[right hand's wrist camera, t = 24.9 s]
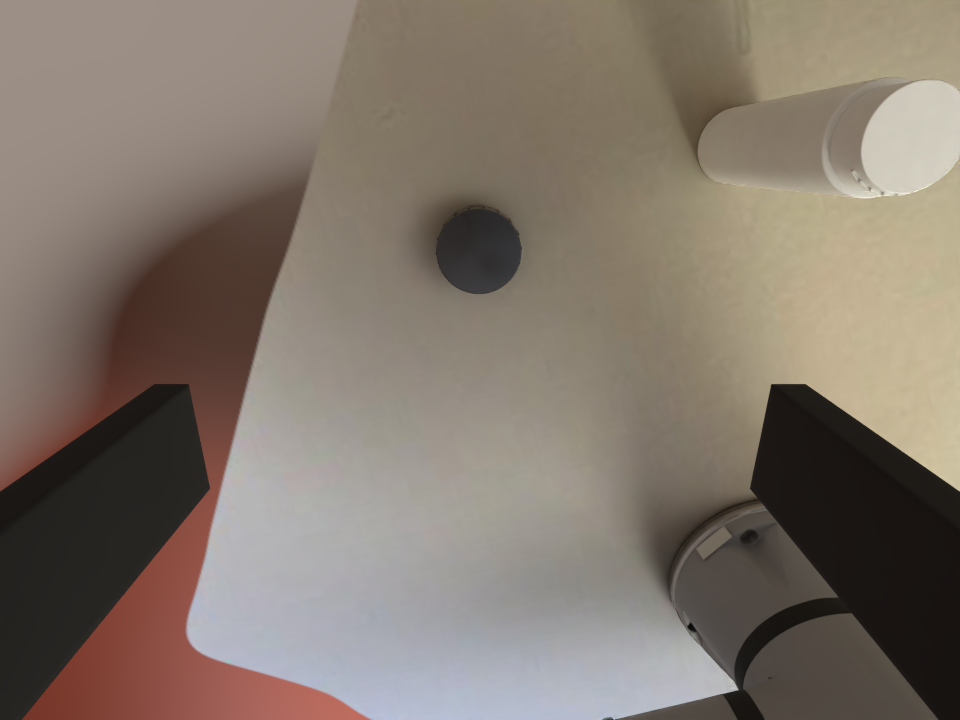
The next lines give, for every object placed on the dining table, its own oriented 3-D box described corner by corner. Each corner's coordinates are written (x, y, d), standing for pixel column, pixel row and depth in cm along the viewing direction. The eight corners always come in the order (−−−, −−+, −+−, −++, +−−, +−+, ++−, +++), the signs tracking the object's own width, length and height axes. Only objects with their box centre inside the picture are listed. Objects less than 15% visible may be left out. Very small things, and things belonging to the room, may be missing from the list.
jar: (699, 190, 35) (851, 213, 21) (694, 116, 34) (853, 85, 19) (770, 175, 35) (974, 187, 21) (768, 99, 33) (986, 55, 19)
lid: (536, 248, 36) (540, 253, 34) (477, 303, 38) (477, 311, 36) (480, 186, 35) (480, 188, 33) (421, 246, 36) (417, 251, 34)
